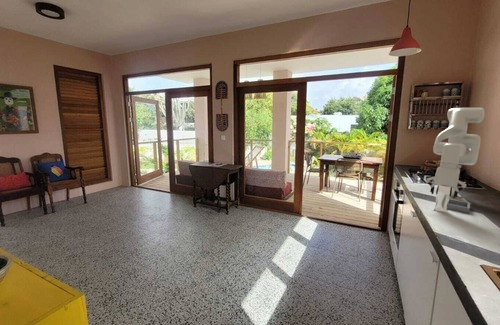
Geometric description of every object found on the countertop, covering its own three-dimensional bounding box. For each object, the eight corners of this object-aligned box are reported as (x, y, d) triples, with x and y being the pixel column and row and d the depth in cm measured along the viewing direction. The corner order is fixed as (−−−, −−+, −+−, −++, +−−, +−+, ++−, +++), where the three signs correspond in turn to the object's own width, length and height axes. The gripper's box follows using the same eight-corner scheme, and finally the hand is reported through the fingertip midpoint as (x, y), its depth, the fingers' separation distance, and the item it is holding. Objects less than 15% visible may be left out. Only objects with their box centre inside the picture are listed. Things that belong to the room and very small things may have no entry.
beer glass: (442, 213, 130) (447, 187, 127) (429, 208, 137) (434, 183, 134) (451, 212, 132) (456, 186, 129) (438, 207, 139) (443, 183, 136)
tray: (442, 202, 149) (443, 197, 148) (469, 207, 140) (470, 202, 140) (440, 207, 139) (441, 202, 139) (468, 213, 131) (469, 208, 130)
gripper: (469, 167, 127) (463, 198, 129) (429, 163, 138) (425, 191, 141) (469, 169, 121) (463, 201, 124) (428, 164, 133) (423, 193, 136)
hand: (443, 195), depth 132 cm, fingers open, 9 cm apart
